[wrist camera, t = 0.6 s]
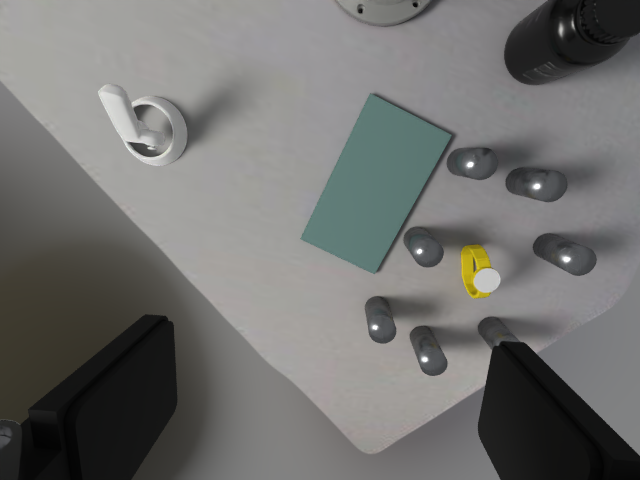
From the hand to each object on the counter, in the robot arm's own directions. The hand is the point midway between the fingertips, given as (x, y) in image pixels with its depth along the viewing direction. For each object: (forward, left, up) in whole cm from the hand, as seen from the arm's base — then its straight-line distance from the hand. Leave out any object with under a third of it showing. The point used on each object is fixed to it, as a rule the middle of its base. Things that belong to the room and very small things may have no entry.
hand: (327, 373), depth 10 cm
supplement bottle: (-24, +11, -32) cm, 41 cm away
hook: (+1, -23, -32) cm, 39 cm away
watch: (-1, +17, -32) cm, 36 cm away
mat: (-4, +3, -32) cm, 32 cm away
